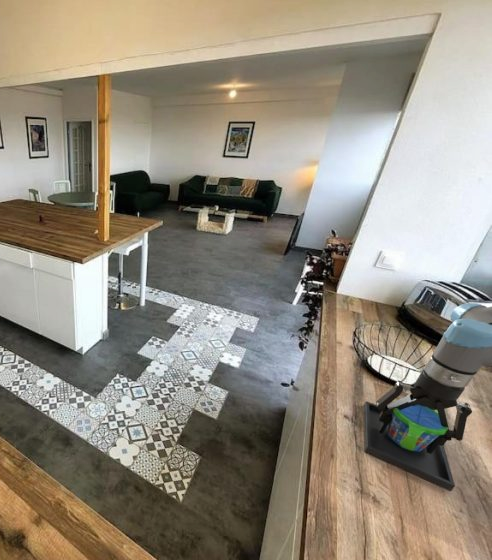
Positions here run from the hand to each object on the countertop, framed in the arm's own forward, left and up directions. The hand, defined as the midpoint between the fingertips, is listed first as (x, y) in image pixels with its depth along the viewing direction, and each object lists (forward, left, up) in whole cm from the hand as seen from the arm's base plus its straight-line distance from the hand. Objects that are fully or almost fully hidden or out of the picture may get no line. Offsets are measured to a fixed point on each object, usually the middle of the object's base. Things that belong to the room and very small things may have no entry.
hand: (403, 439), depth 85 cm
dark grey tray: (0, 0, -1) cm, 1 cm away
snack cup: (0, 0, 0) cm, 0 cm away
